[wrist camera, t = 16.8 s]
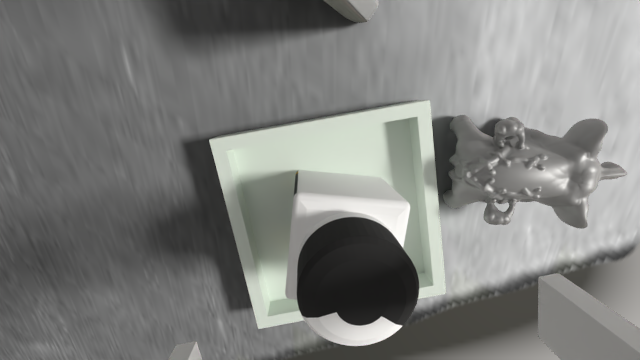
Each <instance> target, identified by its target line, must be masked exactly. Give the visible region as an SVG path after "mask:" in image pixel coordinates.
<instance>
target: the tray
mask: <svg viewBox="0 0 640 360" xmlns="http://www.w3.org/2000/svg"><path fill="white" fill-rule="evenodd" d="M209 142H210V145H211V149H212V153H213V157H214V161H215V165H216V168H217V172H218V176H219V180H220V184H221V188H222V191H223V195H224V199H225V203H226V207H227V211H228V214H229V218H230V222H231V226H232V230H233V233H234V237H235V241H236V245H237V249H238V253H239V256H240V260H241V264H242V268H243V272H244V276H245V279H246V283H247V287H248V291H249V295H250V299H251V302H252V306H253V310H254V314H255V318H256V322H257V325H258V329H261V328H266V327H272V326H277V325H282V324H288V323H293V322H298V321H304V319H303V317H302V315H301V313H300V310H299V307H298V302H297V300H294V299H288V298H287V297H286V295H285V288H286V277H287V266H288V254H289V243H290V232H291V220H292V209H293V198H294V187H295V175H296V172H297V171H298V170H307V171H318V172H329V173H340V174H351V175H362V176H373V177H381V178H383V179H384V180H385V181H386V182H387V183H388V184H389V185H390V186H391V187H392V188H393V189H394V190H395V191H397V192H398V193H399V194H400V195H401V196H402V197H403V198H404V199H405V200H406V201H407V202H408V203H409V204H410V212H409V218H408V224H407V229H406V235H405V240H404V246H403V249H404V250H405V252H406V253H407V255H408V256H409V258H410V259H411V260H412V262H413V264H414V266H415V268H416V271H417V274H418V278H419V296H418V299H421V298H426V297H431V296H436V295H442V294H446V285H445V274H444V262H443V250H442V238H441V226H440V214H439V202H438V191H437V179H436V167H435V155H434V143H433V131H432V119H431V108H430V100H415V101H409V102H404V103H398V104H393V105H387V106H382V107H376V108H370V109H365V110H359V111H354V112H348V113H343V114H337V115H332V116H326V117H320V118H315V119H309V120H304V121H298V122H293V123H287V124H282V125H276V126H270V127H265V128H259V129H254V130H248V131H243V132H237V133H231V134H226V135H220V136H218V137H215V138H212V139H210V140H209Z"/></svg>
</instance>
